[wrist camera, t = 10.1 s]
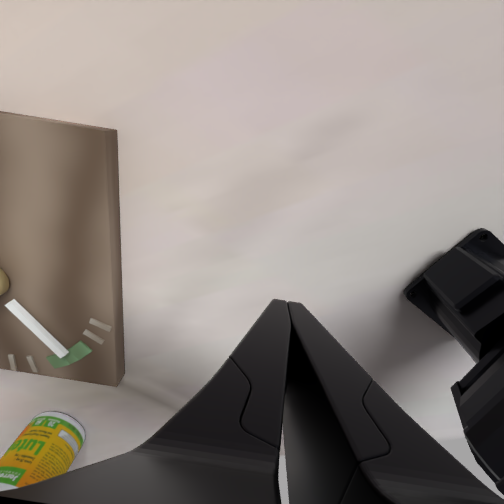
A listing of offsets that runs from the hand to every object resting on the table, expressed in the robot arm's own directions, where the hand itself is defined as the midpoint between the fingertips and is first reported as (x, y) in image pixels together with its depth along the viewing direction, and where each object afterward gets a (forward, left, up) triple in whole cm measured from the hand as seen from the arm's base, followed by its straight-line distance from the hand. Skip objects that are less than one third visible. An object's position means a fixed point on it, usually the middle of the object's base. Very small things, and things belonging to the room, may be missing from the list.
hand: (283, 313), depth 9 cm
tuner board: (+13, +15, -12) cm, 24 cm away
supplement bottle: (+2, +31, -12) cm, 33 cm away
